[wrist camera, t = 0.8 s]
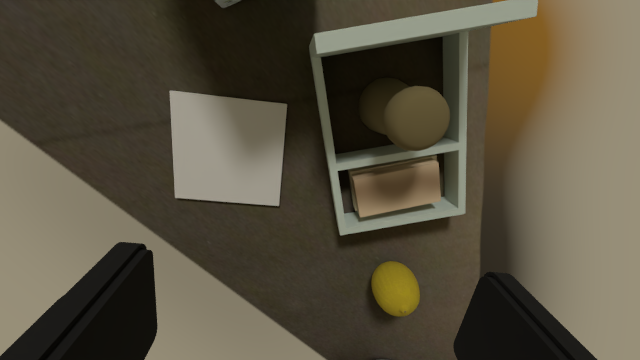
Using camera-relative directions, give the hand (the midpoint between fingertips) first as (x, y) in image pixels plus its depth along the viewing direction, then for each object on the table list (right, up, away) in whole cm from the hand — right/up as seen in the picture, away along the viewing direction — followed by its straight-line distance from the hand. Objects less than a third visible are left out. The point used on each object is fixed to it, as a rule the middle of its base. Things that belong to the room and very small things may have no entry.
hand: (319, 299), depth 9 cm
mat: (-10, +7, +25) cm, 28 cm away
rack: (+8, +9, +25) cm, 28 cm away
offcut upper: (+8, +3, +26) cm, 28 cm away
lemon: (+9, -8, +32) cm, 34 cm away
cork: (+7, +12, +25) cm, 28 cm away
